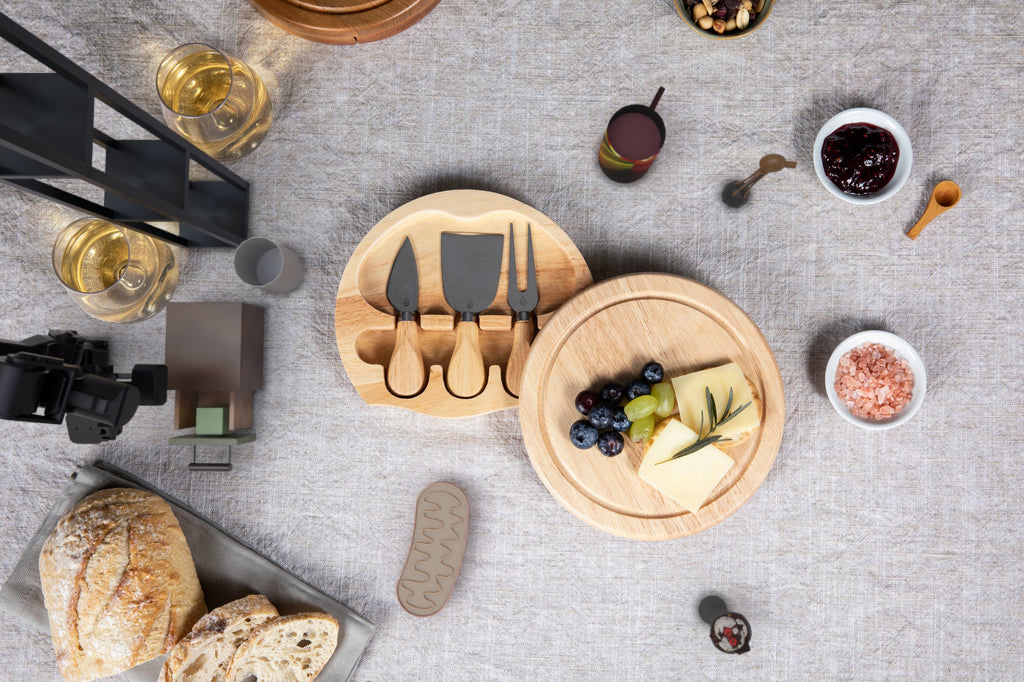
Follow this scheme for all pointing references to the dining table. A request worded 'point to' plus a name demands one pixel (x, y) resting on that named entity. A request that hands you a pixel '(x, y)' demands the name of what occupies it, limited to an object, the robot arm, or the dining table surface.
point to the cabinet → (214, 346)
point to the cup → (267, 265)
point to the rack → (110, 155)
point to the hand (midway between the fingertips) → (133, 383)
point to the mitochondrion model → (434, 550)
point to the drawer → (237, 420)
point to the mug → (632, 141)
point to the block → (213, 420)
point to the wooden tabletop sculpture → (753, 180)
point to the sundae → (725, 626)
